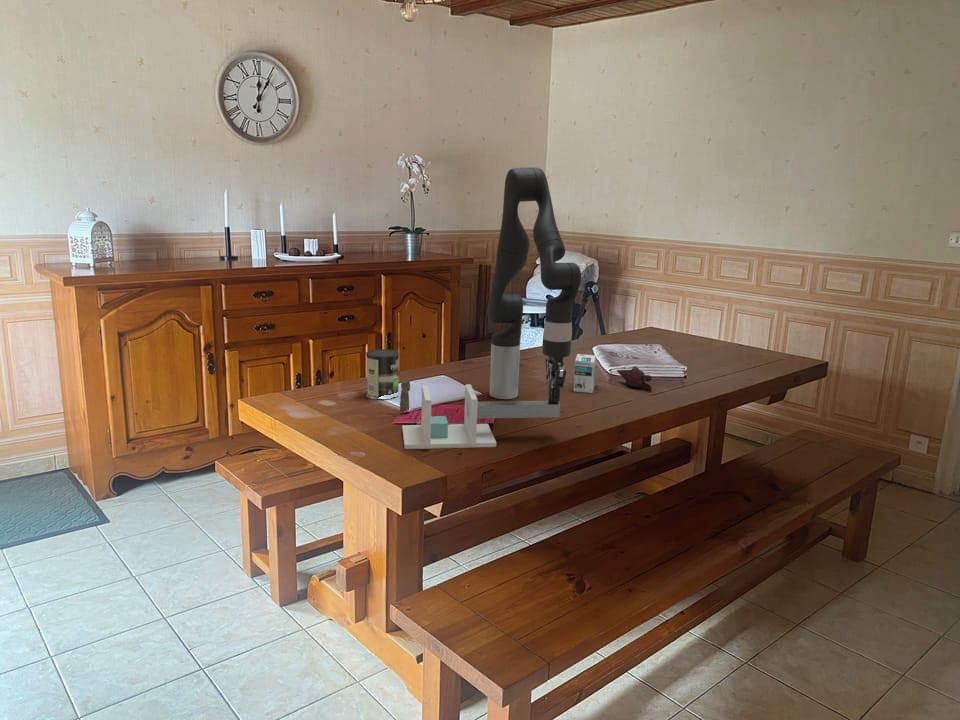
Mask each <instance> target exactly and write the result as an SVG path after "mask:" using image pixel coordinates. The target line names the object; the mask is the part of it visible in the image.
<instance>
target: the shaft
mask: <svg viewBox="0 0 960 720" xmlns="http://www.w3.org/2000/svg"><path fill="white" fill-rule="evenodd" d="M557 383H559V382H557ZM551 385H552V380H551V379H550V380H549V384H548V387H549V397H548V398H547V399H548V400H507V401H506V400H501V401H500V400H499V401H495V400H494V401H492V400H491V401H488V400H487V401H478V405H477V420H478V419H480V420H482V419H518V418H519V419H526V418H529V419H530V418H533V419H534V418H560V417H561V416H560V415H561V404H560V402H559V401H560V400H559V401H558V402H553V401H552V400H551V390H552V387H551Z"/></svg>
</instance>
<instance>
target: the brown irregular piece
mask: <svg viewBox="0 0 960 720" xmlns="http://www.w3.org/2000/svg"><path fill="white" fill-rule="evenodd" d="M616 372H617V373H618V374H619V375H620V376H621V377H622V378H623V379H624V380H625V384H626V385H627V386H628V387H632V388H639V387H642V388H643V389H644V390H646V391H648V392H651V391H652V389H653V387H652V386H651V385H650V384H648V383H649V382H652V375H650V374H645V373H644V371H643V370H641V369H639V368H638V367H632V368H631V369H617V370H616Z"/></svg>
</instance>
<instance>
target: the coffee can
mask: <svg viewBox="0 0 960 720" xmlns="http://www.w3.org/2000/svg"><path fill="white" fill-rule="evenodd" d="M365 355H366V397H367V398H369V399H372V400H376V399H378V398H379V397H381V396H384V395H391V394H394V393H397V392H398V391H400V390H399V387H400V386H399V381H400V379H399V378H400V377H399V370H400V369H399V364H400V363H399V361H400V360H399V358H400V357H399V355H400V352H399V351H397V350H395V349H394V350H393V349H388V348H387V349H386V348H377V349H372V350H368V351H366V352H365Z"/></svg>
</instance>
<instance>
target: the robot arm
mask: <svg viewBox="0 0 960 720" xmlns="http://www.w3.org/2000/svg"><path fill="white" fill-rule="evenodd" d="M548 182H549V181H548V178H547V176H546V174H545V171H544V170H543V169H542V168H540V167H536V166H535V167H513V168H510V169H509V170H508V171H507V174H506V176H505V179H504V190H503V207H502V219H501V225H500V233H499V238H498V243H497V250H496V257H495V266H494V274H493V281H492V284H491V288H490V292H489V296H488V297H489V298H488V303H487V318H488V321H489V322H490V323H493V324H508V325H507V327H505V328H503V329H502V330H500V331H497V332H494V333H492V336H491V339H490V340H491V342H490V343H491V345H490V371H489V375H490V376H489V396H490V397H492V398H494V399H498V400H499V399H500V400H511V399H515V398H517V397H519V396H518V395H519V380H520V379H519V377H520V375H519V374H520V373H519V372H520V355H521V354H520V353H521V337H522V323H523V317H524V302H523V297H522V296H521V295H520V294H518V293H505V291H506V289H507V288H508V285H509V284H511V282H512V281H513V280H514V279H515V278H516V276H518V274H520V272H521V271H522V270H523V269H524V267H525V266H526V264H527V261H528V256H529V251H530V238H529V235H528V233H527V231H526V229H525V228H524V226H523V224H522V222H521V219H520V217H519V204H520V203H521V202H535V203H537V206H538V213H537V217H536V220H535V222H534V225H533V229H532V237H533V240H534V241H533V242H534V244H535V246H536V250H537V252H538V255H539V264H540V265H539V266H540V280H541V283H542V285H543V286H544V287H545V288H546V289H547V290H549V291H559V290H560V293H559V295H557V296H555V297H552V298H549V299H548V300H547V301H546V303H545V320H544V326H543V337H542V338H543V339H542V355H544V356H546V357H548V358H545V378H546V381H547V384H548V385H549V380H550V379H551V380H552V385H551V387H552V390H551V400H552V401H553V402H558V401H560V398H561V397H560V396H561V389H563V388H564V384H565V380H566V374H567V370H566V369H565V364H566V363H565V362H564V358H567V357H569V356H570V355H571V352H572V351H571V350H572V336H573V324H572V320H573V306H574V304H575V300H576V297H577V294H578V292H579V289H580V286H581V283H582V271H581V268H580V266H579V265H578V264H577V263H576V262H558V261H560V260H562V259H563V258H564V256H565V254H566V248H565V245H564V241H563V240H562V239H563V238H562V236H561V234H560V231H559V228H558V225H557V221H556V219H555V217H556V216H555V213H554V208H553V202H552V197H551V193H550V187H549V183H548ZM557 382H559V383H557ZM547 389H548V390H547V397H548V398H549V386H548V388H547Z"/></svg>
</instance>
